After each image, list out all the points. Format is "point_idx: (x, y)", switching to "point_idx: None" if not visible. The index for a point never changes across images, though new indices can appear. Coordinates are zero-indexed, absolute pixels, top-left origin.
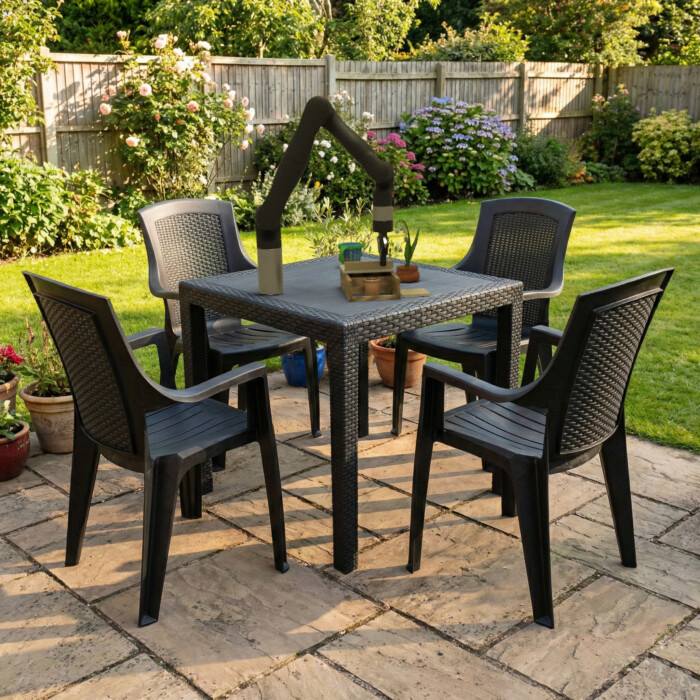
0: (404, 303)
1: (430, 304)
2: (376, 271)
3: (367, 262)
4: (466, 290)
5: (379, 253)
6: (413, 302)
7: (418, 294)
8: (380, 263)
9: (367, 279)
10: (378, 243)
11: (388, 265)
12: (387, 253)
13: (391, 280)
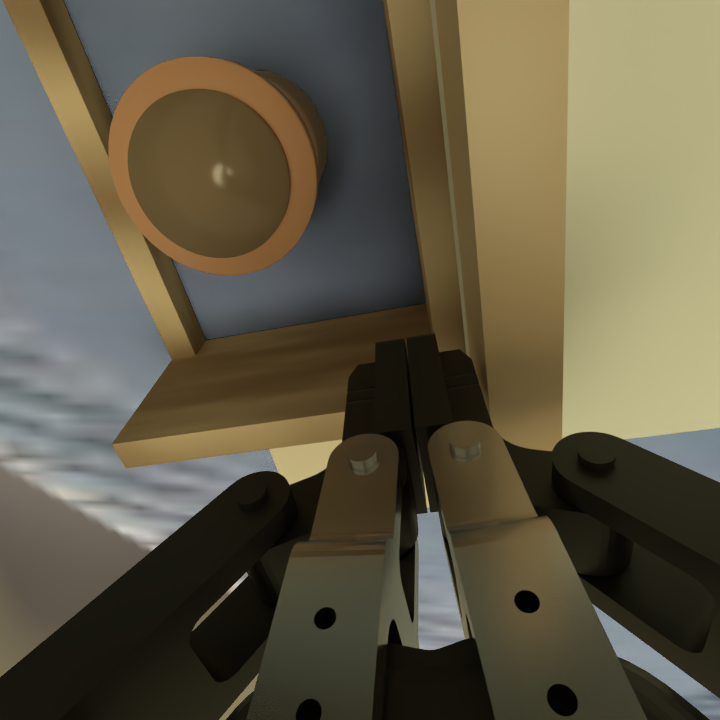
0: (74, 385)
1: (90, 502)
2: (457, 243)
3: (466, 121)
4: (444, 635)
5: (454, 453)
6: (118, 431)
7: (278, 470)
8: (377, 358)
9: (141, 118)
10: (496, 709)
11: None
12: (248, 593)
13: None
